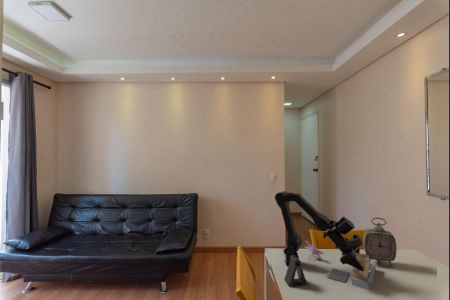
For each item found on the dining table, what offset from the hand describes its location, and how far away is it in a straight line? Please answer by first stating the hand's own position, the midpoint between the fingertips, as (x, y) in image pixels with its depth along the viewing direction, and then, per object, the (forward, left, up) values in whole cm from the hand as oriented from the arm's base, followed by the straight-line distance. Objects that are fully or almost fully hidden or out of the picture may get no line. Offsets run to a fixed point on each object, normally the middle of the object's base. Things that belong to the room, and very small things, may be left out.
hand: (364, 268), depth 122 cm
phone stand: (-32, 0, -7) cm, 33 cm away
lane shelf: (+2, +5, -7) cm, 9 cm away
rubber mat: (-9, +7, -7) cm, 13 cm away
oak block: (-1, +1, -7) cm, 7 cm away
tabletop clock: (+18, +19, -7) cm, 27 cm away
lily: (-15, +27, -7) cm, 31 cm away
